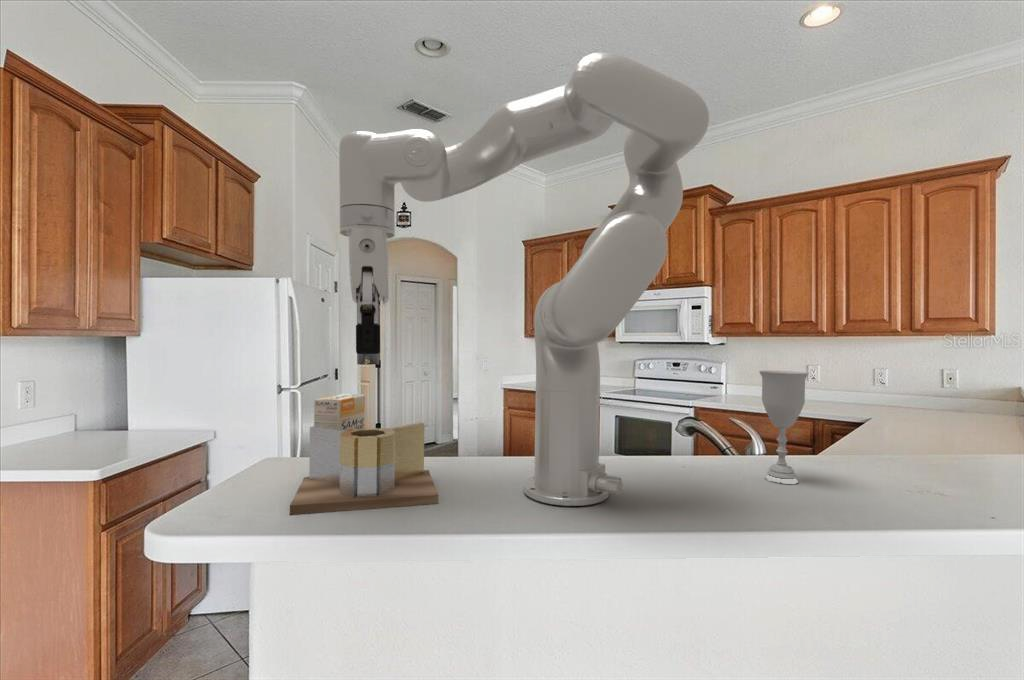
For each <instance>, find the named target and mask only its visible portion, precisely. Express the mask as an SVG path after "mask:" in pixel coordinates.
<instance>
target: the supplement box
mask: <svg viewBox="0 0 1024 680" xmlns="http://www.w3.org/2000/svg"><path fill="white" fill-rule="evenodd" d="M365 399H366V395H365V394H359V393H358V394H355V393H354V394H353V393H341V394H336V395H330V396H327V397H321V398H320V397H319V398H315V399H314V400H313V401H314V403H313V404H314V405H313V407H314V408H313V410H314V411H313V412H314V413H313V426H321V427H329V428H337V429H346V430H354V429H362V428H365V403H366V401H365Z"/></svg>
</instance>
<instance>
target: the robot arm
mask: <svg viewBox="0 0 1024 680" xmlns="http://www.w3.org/2000/svg"><path fill="white" fill-rule="evenodd" d="M709 121H710V114H709V108H708V106H707V103H706V102H705V101H704V99H703V97H702V96H701V95H700V94H699V93H698V92H697V91H695V89H693V88H692V87H690V86H688V85H686V84H685V83H683V82H680V81H678V80H676V79H674V78H672V77H670V76H668V75H666V74H663V73H661V72H659V71H658V70H655V69H653V68H651V67H649V66H647V65H644V64H642V63H640V62H638V61H636V60H633V59H631V58H628V57H625V56H622V55H620V54H617V53H613V52H605V51H599V52H598V51H597V52H595V51H594V52H592V53H590V54H587V55H586V56H583V57H582V58H581V59H580V60H579V61H578V62H577V64H576V65H575V67H574V69H573V71H572V73H571V75H570V78H569V80H568V82H567V83H565V84H563V85H559V86H556V87H554V88H550V89H547V90H544V91H541V92H538V93H534V94H532V95H529V96H525V97H523V98H518V99H515V100H512V101H508V102H506V103H504V104H503V105H501V106H500V107H499V108H497V110H495V112H493V113H492V115H491V116H489V118H488V119H487V121H485V123H484V124H483V125H482V126H481V127H480V128H479V129H478V130H477V131H475V133H473V134H471V136H469V137H467V138H465V139H464V140H463V141H460V142H458V143H455V144H453V145H450V146H448V147H446V146H445V144H444V142H443V140H442V139H441V137H439V136H438V135H437V134H436V133H434V132H432V131H431V130H427V129H423V128H409V129H403V130H398V131H389V132H382V133H378V132H372V131H369V130H368V131H365V130H356V131H351V132H348V133H346V134H344V135H343V136H342V137H341V140H340V141H339V148H338V149H339V150H338V151H339V152H338V153H339V155H338V157H339V158H338V159H339V162H338V163H339V166H338V167H339V168H338V169H339V175H338V177H339V234H340V235H342V236H344V237H348V264H349V265H348V268H349V283H350V291H351V298H352V301H353V302H354V303H355V304H356V323H357V322H358V325H357V324H356V325H355V353H356V355H357V354H378V353H379V354H380V353H381V325H380V324H379V325H378V298H379V302H382V305H387V304H388V302H389V300H390V299H389V298H390V297H389V295H390V294H389V293H390V292H389V290H390V289H389V284H390V283H389V279H390V277H389V247H388V246H389V245H388V239H392V238H394V237H395V236H396V234H395V231H396V229H395V227H396V226H395V225H396V223H395V222H396V221H395V217H396V216H395V214H396V213H395V185H396V184H398V183H400V185H401V186H402V188H403V190H404V192H405V193H406V194H407V196H408V197H411V198H412V199H413V200H415V201H419V202H425V203H427V202H435V201H440V200H444V199H446V198H447V199H448V198H450V197H452V196H455V195H458V194H462V193H465V192H467V191H470V190H473V189H476V188H478V187H480V186H482V185H484V184H486V183H488V182H490V181H492V180H494V179H496V178H497V177H499V176H502V175H504V174H506V173H508V172H510V171H512V170H513V169H515V168H516V167H519V166H520V165H522V164H524V163H528V162H531V161H534V160H536V159H539V158H542V157H545V156H548V155H551V154H554V153H557V152H560V151H563V150H566V149H570V148H572V147H575V146H579V145H582V144H585V143H588V142H590V141H592V140H596V139H597V138H599V137H601V136H603V135H604V134H605V133H606V132H607V131H608V130H609V129H610V128H611V127H612V125H613V124H614V123H617V124H619V125H621V126H623V127H626V128H628V129H629V131H628V133H627V135H626V137H625V141H624V145H623V156H624V161H625V164H626V165H625V166H626V169H627V171H628V177H629V181H628V182H629V184H628V186H627V188H626V189H625V190H626V191H625V192H624V193H623V195H622V196H621V197H620V198H619V200H618V202H617V203H616V204H615V206H614V207H613V208H612V210H611V211H610V212H609V213H608V215H607V216H606V217H605V219H604V220H603V221H602V222H601V224H599V226H598V227H596V229H595V230H593V231H592V233H591V234H590V235H589V236H588V238H587V239H586V241H585V243H584V246H583V248H582V250H581V254H580V255H581V256H579V257H578V259H577V261H576V262H575V263H574V264H573V265H572V267H571V268H570V270H569V271H568V272H567V273H566V274H565V276H564V277H563V278H562V279H561V280H560V281H557V282H556V283H554V284H552V285H551V286H549V287H548V288H546V289H545V290H544V291H543V293H542V294H541V296H540V297H539V298H538V301H537V303H536V305H535V310H534V316H533V317H534V318H533V320H534V321H533V328H534V332H533V333H534V345H535V367H536V368H535V403H534V404H535V405H534V407H535V414H534V416H535V417H534V418H535V421H534V476H531V477H530V478H528V479H527V480H526V481H525V482H524V483H523V484H524V485H523V492H524V494H525V495H526V496H528V497H529V498H530V499H532V500H534V501H537V502H540V503H543V504H548V505H555V506H561V507H562V506H563V507H564V506H566V507H577V506H578V507H581V506H582V507H583V506H591V505H595V504H598V503H601V502H604V501H605V500H607V498H608V497H609V496H610V495H609V494H612V495H617V496H620V495H621V494H622V492H623V488H624V487H623V481H622V480H623V479H622V477H620V476H616V475H609V474H608V473H607V472H606V464H605V463H599V462H600V460H599V459H600V454H599V453H600V398H601V395H600V394H601V366H600V365H601V364H600V363H601V361H600V351H599V346H598V345H599V343H600V342H602V341H603V340H606V339H607V338H608V337H609V336H611V334H612V333H613V332H614V331H615V330H616V329H617V327H618V326H619V325H620V324H621V323H622V321H623V320H624V319H625V318H626V316H627V315H628V314H629V312H630V311H631V310H632V308H633V307H634V306H635V305H636V303H637V302H638V301H639V300H640V298H641V296H642V295H643V294H644V293H645V291H646V290H647V289H648V287H649V286H650V285H651V284H652V282H653V281H654V280H655V278H656V277H657V275H658V274H659V272H660V270H661V269H662V267H663V265H664V263H665V260H666V256H667V253H668V238H667V234H666V232H667V230H668V229H669V228H670V227H671V225H672V224H673V221H674V220H675V219H676V217H677V215H678V213H679V212H680V209H681V208H682V205H683V199H684V189H683V188H684V187H683V182H682V181H683V180H682V176H681V172H680V170H679V169H680V168H679V166H678V161H679V160H681V159H682V158H683V157H684V156H685V155H687V154H688V153H689V152H691V151H692V150H693V149H694V148H695V147H696V146H697V145H699V143H700V142H701V141H702V140H703V138H704V136H705V135H706V133H707V131H708V127H709V124H710V122H709ZM356 290H357V294H356ZM378 293H379V295H380V296H378ZM360 297H361V300H363V301H360ZM372 300H375V302H372Z"/></svg>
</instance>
